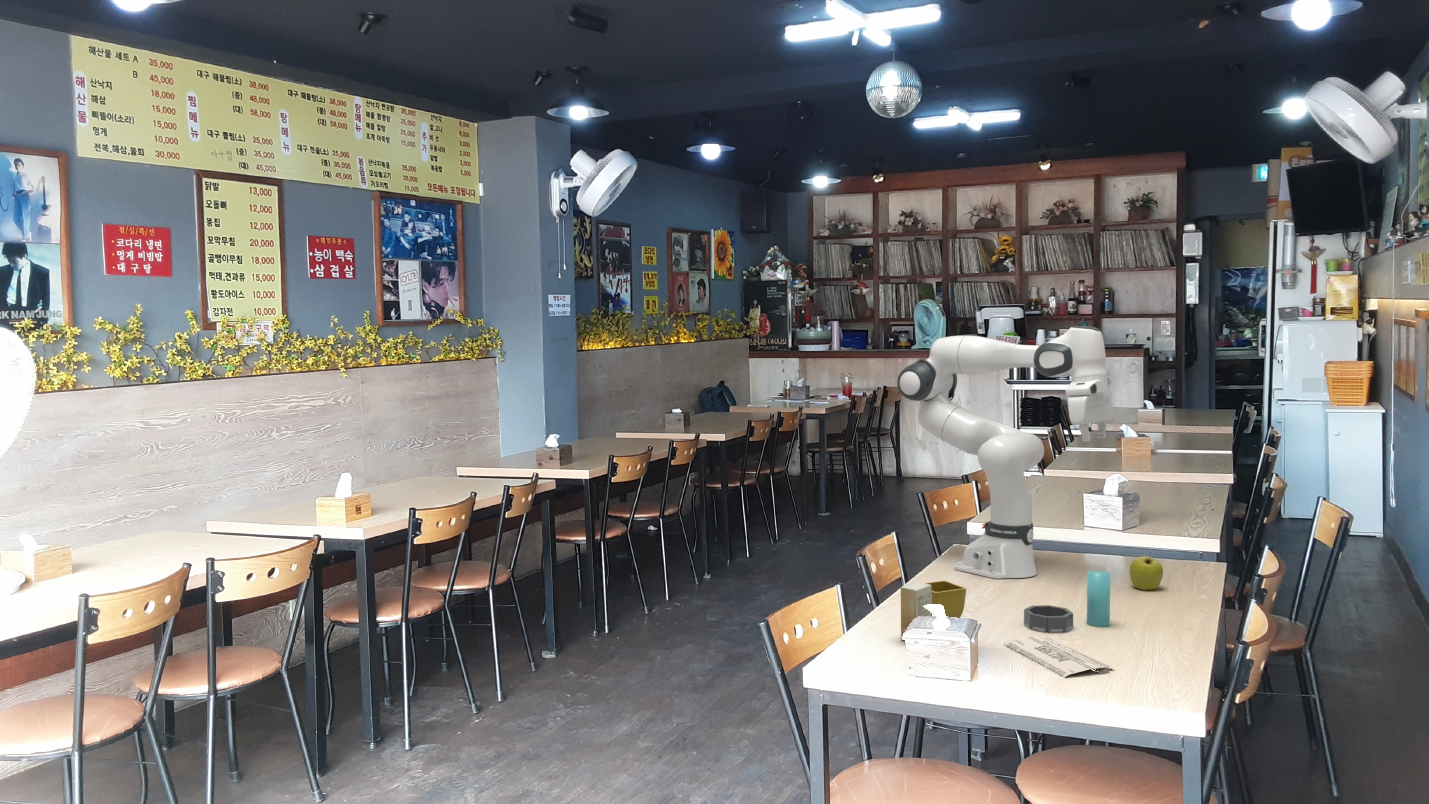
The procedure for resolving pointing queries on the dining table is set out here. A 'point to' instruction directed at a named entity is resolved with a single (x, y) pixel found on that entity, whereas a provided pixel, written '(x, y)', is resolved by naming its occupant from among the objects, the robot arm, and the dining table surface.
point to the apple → (1146, 573)
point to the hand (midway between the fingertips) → (1094, 439)
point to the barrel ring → (1048, 618)
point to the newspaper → (1055, 656)
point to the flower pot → (949, 597)
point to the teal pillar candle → (1098, 598)
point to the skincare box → (914, 602)
